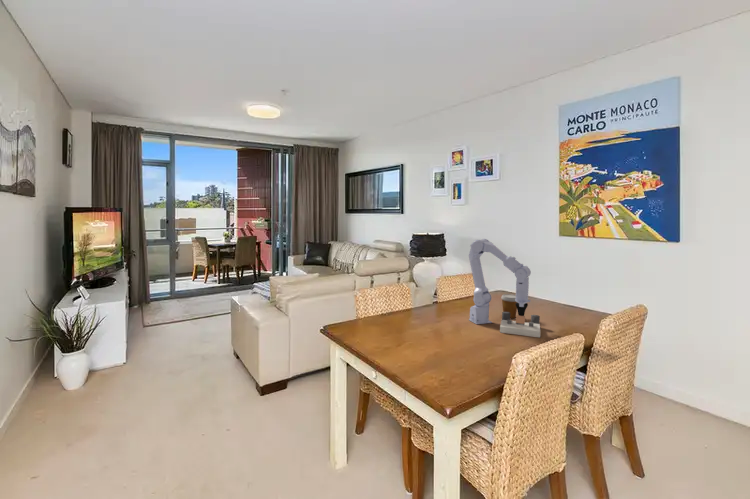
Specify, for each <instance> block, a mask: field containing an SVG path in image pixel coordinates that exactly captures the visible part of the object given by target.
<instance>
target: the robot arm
mask: <svg viewBox="0 0 750 499" xmlns="http://www.w3.org/2000/svg"><path fill="white" fill-rule="evenodd" d="M469 247H470V250H469V253H468V260H469V263H470V264H469V265H470V268H471V274H472V279H473V283H474V290H473V303H474V305H472V306H470V308H469V318H468V321H470V322H471V323H473V324H476V325H485V324H492V323H493V321H491V320H490V302H491V301H492V294H491V293H490V291H489V288H488V287H487V286H486V283H485V278H484V272H483V267H482V263H481V256H482V255H483V253H491V254H492V255H493V256H495V257H496V258H497V259H498V260H500V261H502V263H503V266H505V268H507V269H508V270H509V271H510V272H512V273H513V274H514V276H515V278H516V280H515V281H516V282H515V295H516V299H515V301H516V302H518V303H516V307H517V315H519V316H525V313H526V310H527V308H528V306H529V305H528V303H531V299H529V284H530V283H529V282H530V281H529V279H530V278H529V277H530V276H531V268H529V266H527V265H524V264H523V263H521V262H519V261H518V260H517V258H516V257H515V256H511V255H510V256H508V255H506V254H505V253H504V252H503V251H502V250H501V249H499V248H498V247H497V246H496V245H495V244H494V243H493V242H491V241H490V240H489V239H487V238H482V239H475V240H473V242H471V244H470V246H469Z"/></svg>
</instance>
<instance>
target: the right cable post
mask: <svg viewBox="0 0 750 499" xmlns="http://www.w3.org/2000/svg"><path fill="white" fill-rule="evenodd" d="M530 322H533V323H535V324H540V315H538V314H531V315H530Z"/></svg>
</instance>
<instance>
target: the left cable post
mask: <svg viewBox="0 0 750 499" xmlns="http://www.w3.org/2000/svg"><path fill="white" fill-rule="evenodd" d="M501 313H502V314H501V316H502V317H501V320H511V319H510V312H503V311H502V312H501Z"/></svg>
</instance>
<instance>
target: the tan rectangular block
mask: <svg viewBox="0 0 750 499" xmlns="http://www.w3.org/2000/svg"><path fill="white" fill-rule="evenodd" d="M525 319H526V316H525V315H524V316H519V315H518V314H516V317H515V321H516V324H520V325H525V322H526V320H525Z"/></svg>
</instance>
